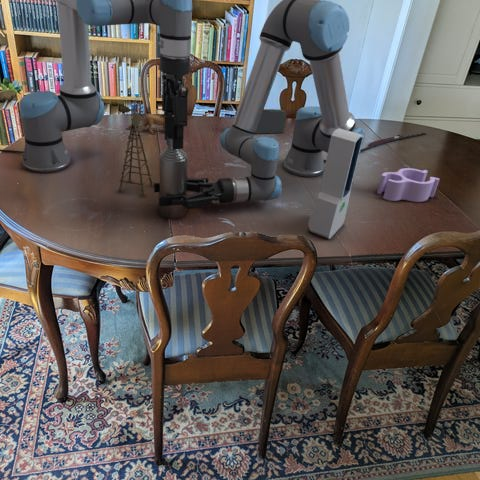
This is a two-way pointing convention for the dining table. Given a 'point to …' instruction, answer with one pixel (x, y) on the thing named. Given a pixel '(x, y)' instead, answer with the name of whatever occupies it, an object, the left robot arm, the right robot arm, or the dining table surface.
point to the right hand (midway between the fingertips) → (156, 194)
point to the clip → (407, 185)
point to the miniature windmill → (134, 129)
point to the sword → (386, 139)
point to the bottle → (173, 179)
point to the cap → (170, 140)
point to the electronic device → (336, 183)
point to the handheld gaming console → (271, 121)
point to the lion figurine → (154, 121)
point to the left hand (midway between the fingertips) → (173, 143)
